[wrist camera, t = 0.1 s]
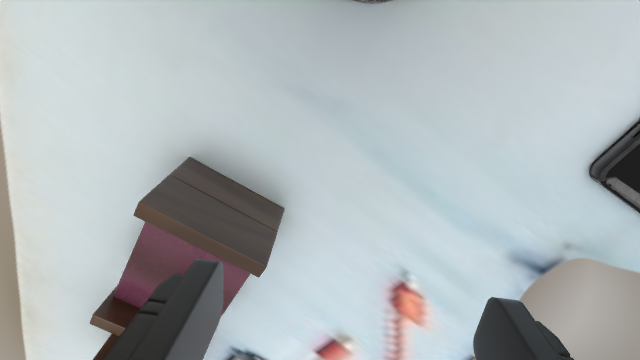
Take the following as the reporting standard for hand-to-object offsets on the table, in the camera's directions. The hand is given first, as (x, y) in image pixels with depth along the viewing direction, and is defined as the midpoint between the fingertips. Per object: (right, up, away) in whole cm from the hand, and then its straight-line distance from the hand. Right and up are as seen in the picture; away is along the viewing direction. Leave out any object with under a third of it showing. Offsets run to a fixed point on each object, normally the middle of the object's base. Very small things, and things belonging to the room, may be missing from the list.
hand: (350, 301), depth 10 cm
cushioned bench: (-11, -2, +21) cm, 24 cm away
